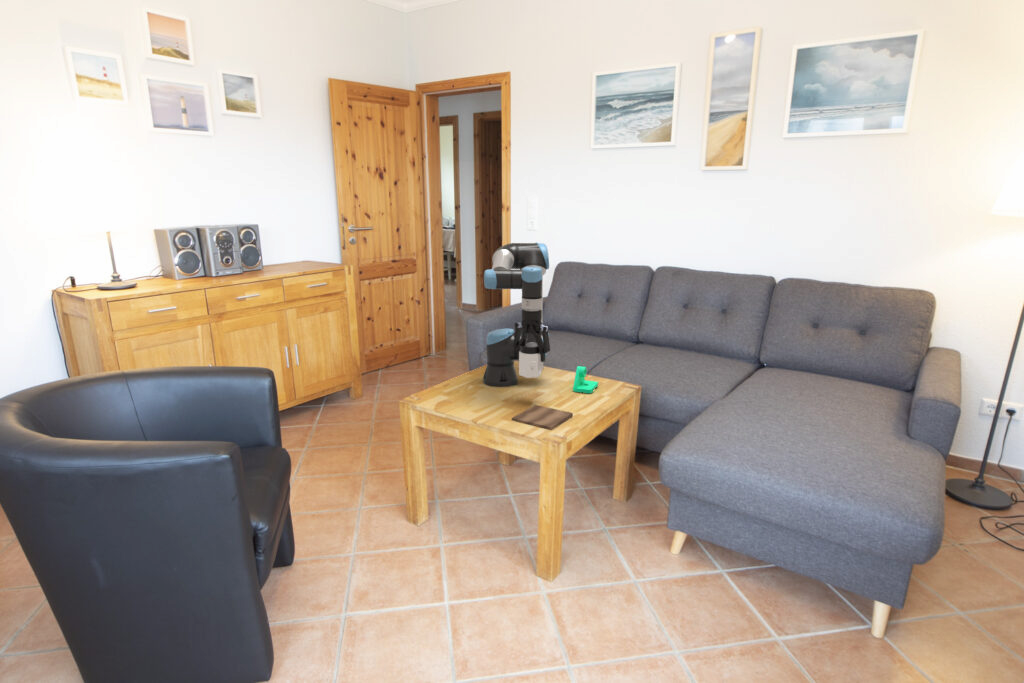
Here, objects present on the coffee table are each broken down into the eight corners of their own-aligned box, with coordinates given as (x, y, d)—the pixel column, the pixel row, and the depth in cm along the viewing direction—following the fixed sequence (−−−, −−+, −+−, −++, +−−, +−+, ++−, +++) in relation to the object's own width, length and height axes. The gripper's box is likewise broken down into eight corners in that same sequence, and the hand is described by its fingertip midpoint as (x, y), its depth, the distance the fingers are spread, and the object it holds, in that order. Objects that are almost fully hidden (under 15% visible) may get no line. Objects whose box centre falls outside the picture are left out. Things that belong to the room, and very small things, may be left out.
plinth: (511, 424, 198) (511, 417, 197) (534, 410, 211) (534, 404, 211) (551, 434, 190) (551, 427, 189) (572, 419, 203) (572, 412, 202)
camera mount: (590, 396, 228) (591, 372, 226) (572, 393, 231) (573, 370, 229) (598, 387, 239) (599, 364, 236) (581, 385, 242) (581, 362, 239)
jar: (521, 378, 210) (521, 348, 206) (516, 372, 217) (516, 342, 214) (544, 377, 211) (544, 346, 208) (538, 370, 219) (539, 341, 216)
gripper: (503, 307, 210) (503, 366, 216) (550, 313, 199) (549, 374, 205) (514, 304, 216) (514, 361, 222) (560, 310, 205) (559, 369, 211)
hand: (531, 367), depth 213 cm, fingers closed on jar, 7 cm apart
